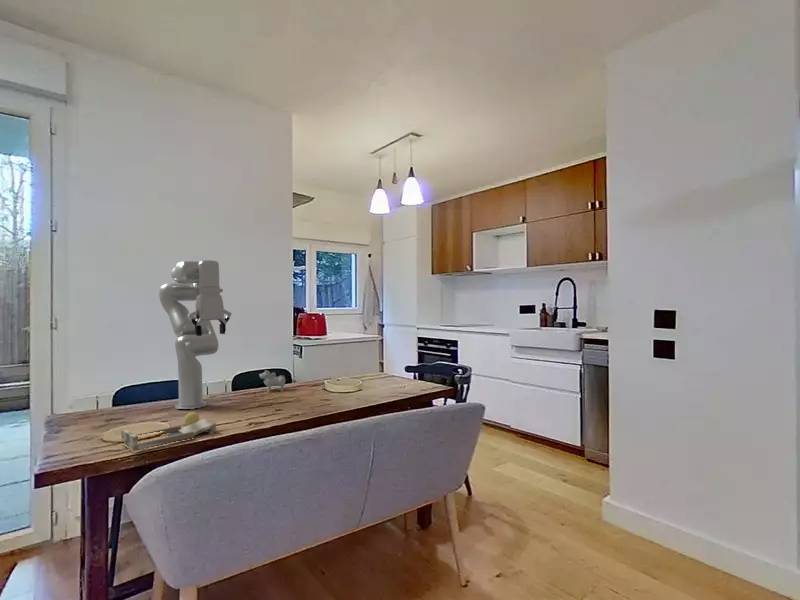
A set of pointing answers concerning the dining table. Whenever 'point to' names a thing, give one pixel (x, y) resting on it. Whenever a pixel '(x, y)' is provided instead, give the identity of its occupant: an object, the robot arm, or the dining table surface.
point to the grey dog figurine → (272, 380)
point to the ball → (191, 418)
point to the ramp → (199, 427)
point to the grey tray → (132, 440)
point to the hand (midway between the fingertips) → (210, 334)
